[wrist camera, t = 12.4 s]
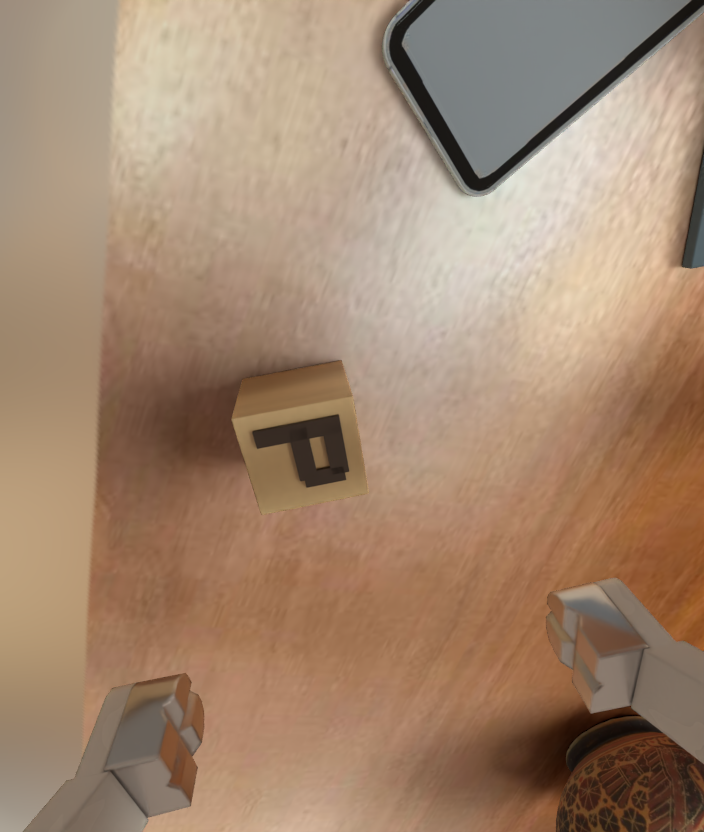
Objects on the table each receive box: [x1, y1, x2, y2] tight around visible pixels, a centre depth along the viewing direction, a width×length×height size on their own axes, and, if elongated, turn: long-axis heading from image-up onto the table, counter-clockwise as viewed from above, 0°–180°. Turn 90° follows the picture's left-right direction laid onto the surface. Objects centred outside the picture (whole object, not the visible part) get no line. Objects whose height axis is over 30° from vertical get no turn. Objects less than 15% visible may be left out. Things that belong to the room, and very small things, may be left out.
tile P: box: [231, 361, 369, 515], centre depth 21 cm, size 5×5×5 cm
